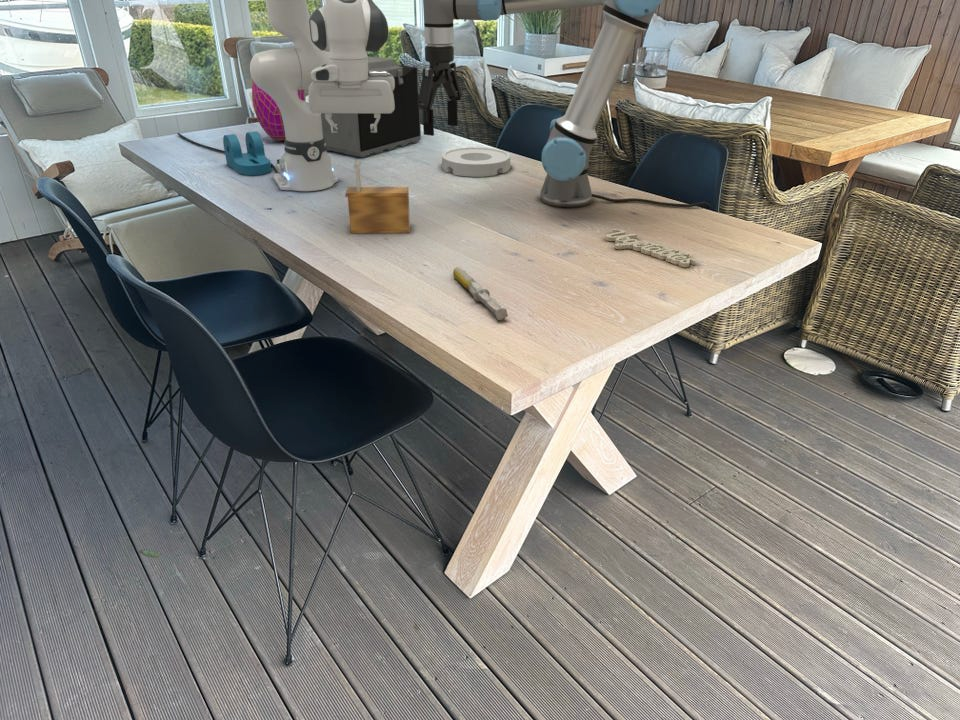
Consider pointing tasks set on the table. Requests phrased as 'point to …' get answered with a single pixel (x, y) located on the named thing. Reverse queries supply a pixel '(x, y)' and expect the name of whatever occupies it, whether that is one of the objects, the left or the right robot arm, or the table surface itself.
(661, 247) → the decorative sign
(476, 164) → the ashtray
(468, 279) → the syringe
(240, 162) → the camera mount
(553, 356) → the table surface
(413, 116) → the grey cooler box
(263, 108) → the decorative egg
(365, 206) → the chest
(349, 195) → the lid
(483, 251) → the table surface
